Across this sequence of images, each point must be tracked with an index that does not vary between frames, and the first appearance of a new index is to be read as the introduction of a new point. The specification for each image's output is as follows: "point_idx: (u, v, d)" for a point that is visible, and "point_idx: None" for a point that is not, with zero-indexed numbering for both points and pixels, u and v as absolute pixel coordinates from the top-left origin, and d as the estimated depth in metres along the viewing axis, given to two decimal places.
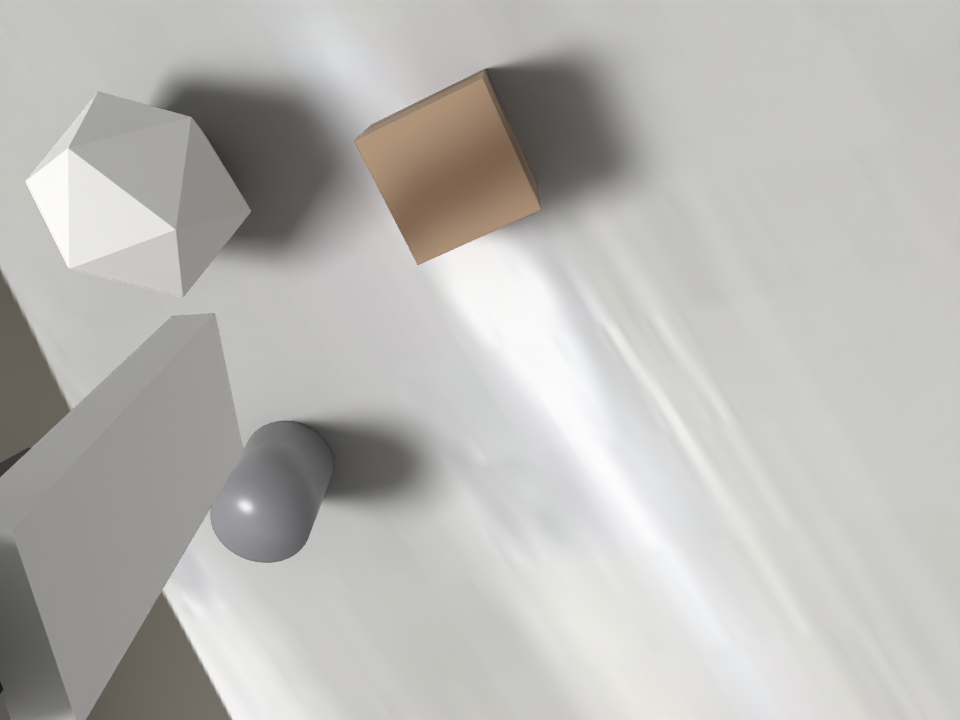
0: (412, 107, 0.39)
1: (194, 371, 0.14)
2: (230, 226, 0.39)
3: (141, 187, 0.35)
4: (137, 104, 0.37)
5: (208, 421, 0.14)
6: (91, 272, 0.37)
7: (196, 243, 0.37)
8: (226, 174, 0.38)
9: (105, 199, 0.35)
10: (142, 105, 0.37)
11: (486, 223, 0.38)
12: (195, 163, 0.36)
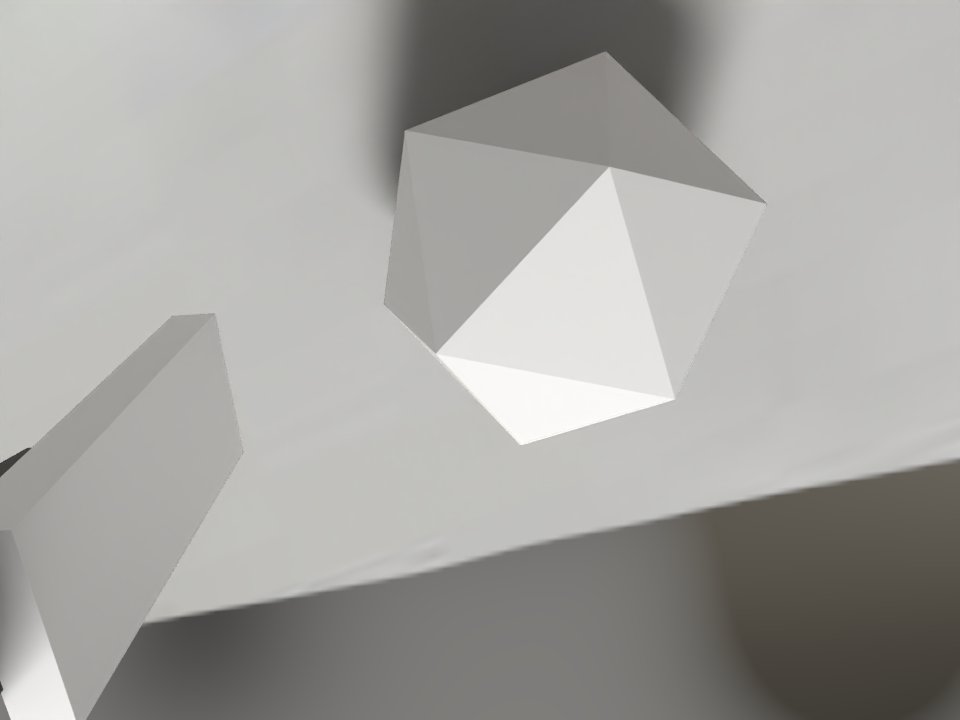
0: None
1: (195, 371, 0.14)
2: (628, 88, 0.19)
3: (518, 229, 0.17)
4: (394, 234, 0.20)
5: (208, 421, 0.14)
6: (688, 360, 0.18)
7: (651, 146, 0.18)
8: (524, 85, 0.19)
9: (537, 302, 0.17)
10: (395, 225, 0.20)
11: None
12: (489, 129, 0.18)
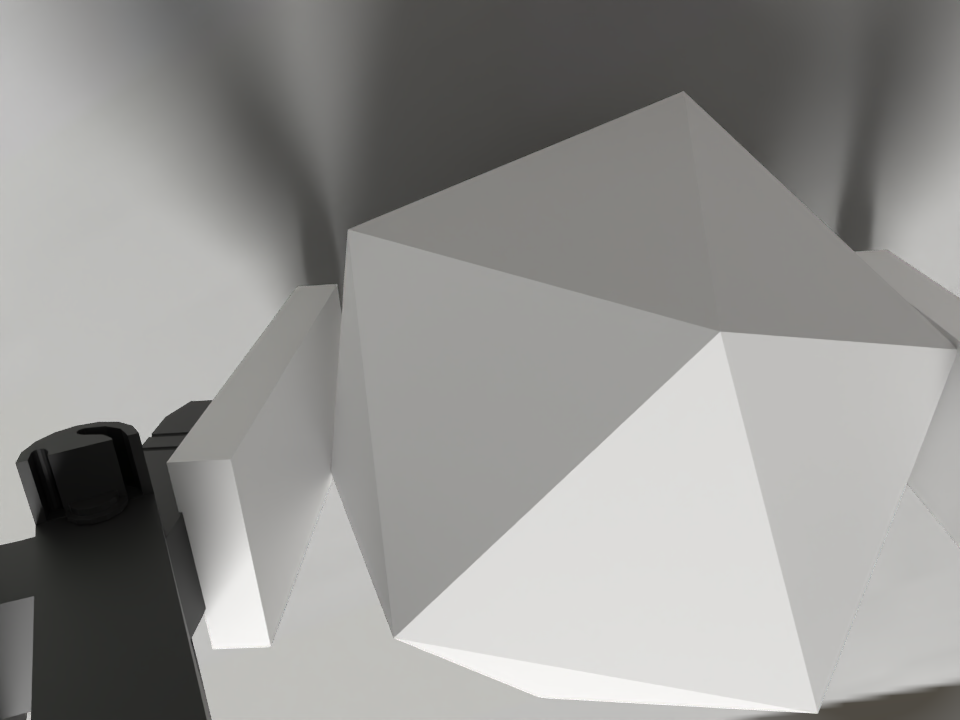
0: None
1: (327, 336, 0.15)
2: (725, 156, 0.11)
3: (541, 431, 0.09)
4: (339, 383, 0.13)
5: (335, 383, 0.15)
6: (839, 640, 0.10)
7: (778, 268, 0.10)
8: (550, 149, 0.12)
9: (578, 559, 0.09)
10: (340, 370, 0.13)
11: None
12: (490, 234, 0.10)
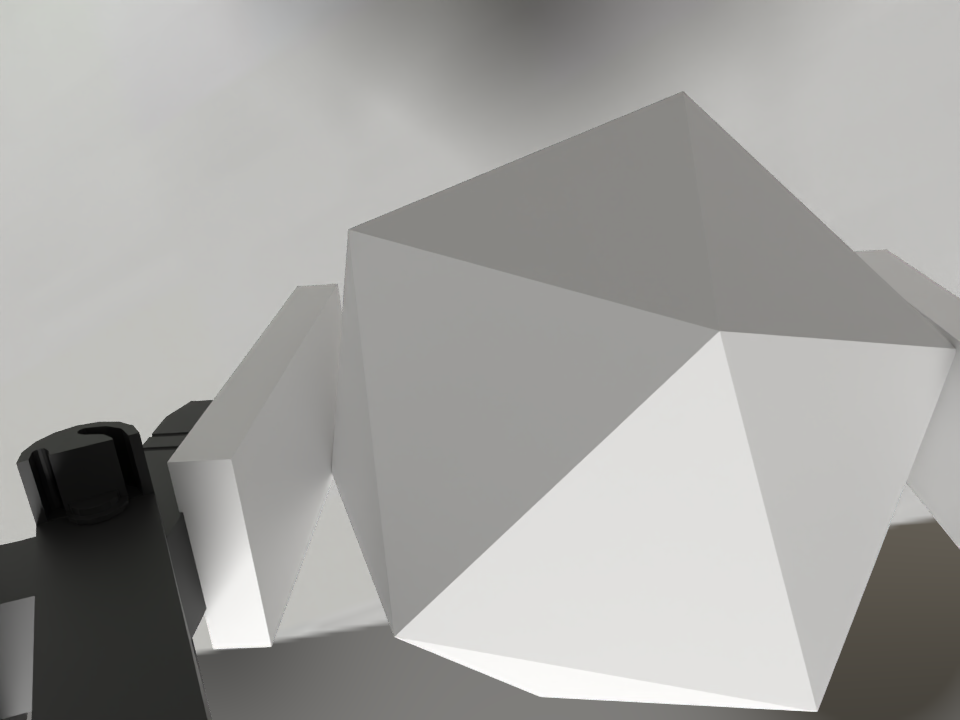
0: None
1: (327, 336, 0.15)
2: (725, 157, 0.11)
3: (542, 431, 0.09)
4: (339, 382, 0.13)
5: (336, 383, 0.15)
6: (838, 639, 0.10)
7: (777, 268, 0.10)
8: (550, 149, 0.12)
9: (576, 557, 0.09)
10: (340, 370, 0.13)
11: None
12: (491, 234, 0.10)
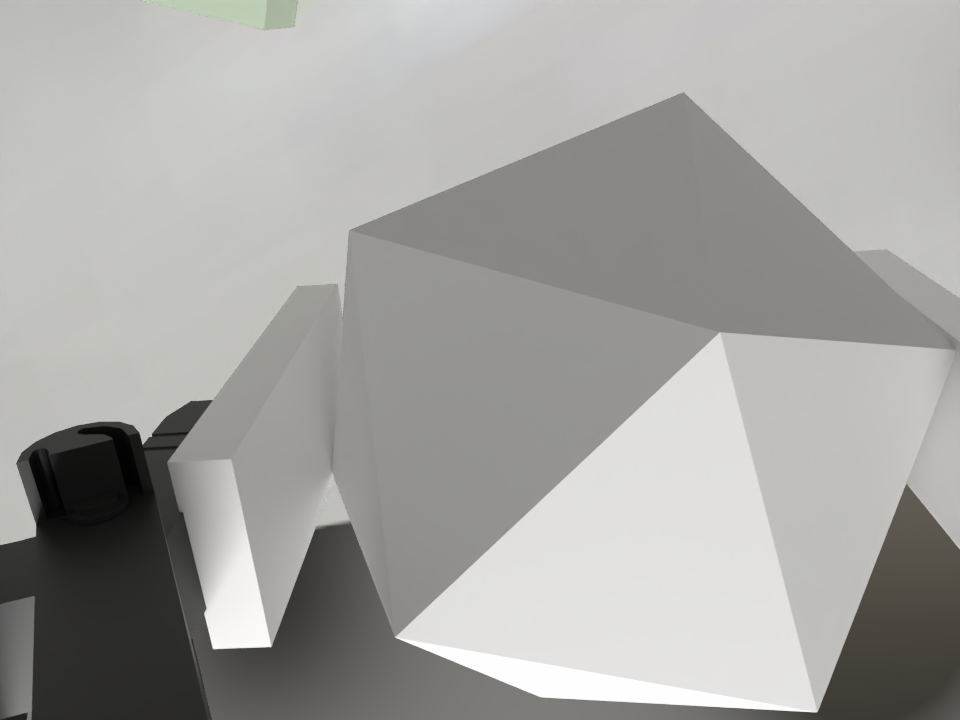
0: None
1: (328, 336, 0.15)
2: (725, 157, 0.11)
3: (542, 431, 0.09)
4: (340, 383, 0.13)
5: (336, 383, 0.15)
6: (839, 640, 0.10)
7: (777, 268, 0.10)
8: (551, 150, 0.12)
9: (577, 559, 0.09)
10: (340, 370, 0.13)
11: None
12: (491, 234, 0.10)
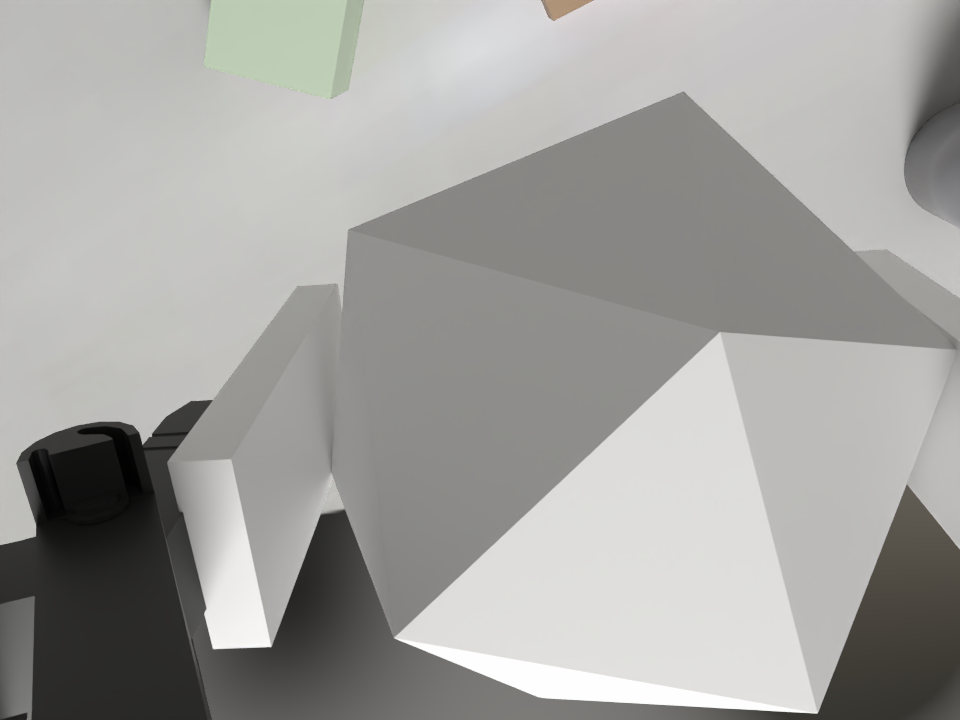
0: None
1: (327, 336, 0.15)
2: (725, 157, 0.11)
3: (541, 431, 0.09)
4: (339, 384, 0.13)
5: (335, 383, 0.15)
6: (839, 641, 0.10)
7: (777, 269, 0.10)
8: (550, 150, 0.12)
9: (576, 559, 0.09)
10: (340, 370, 0.13)
11: None
12: (490, 235, 0.10)
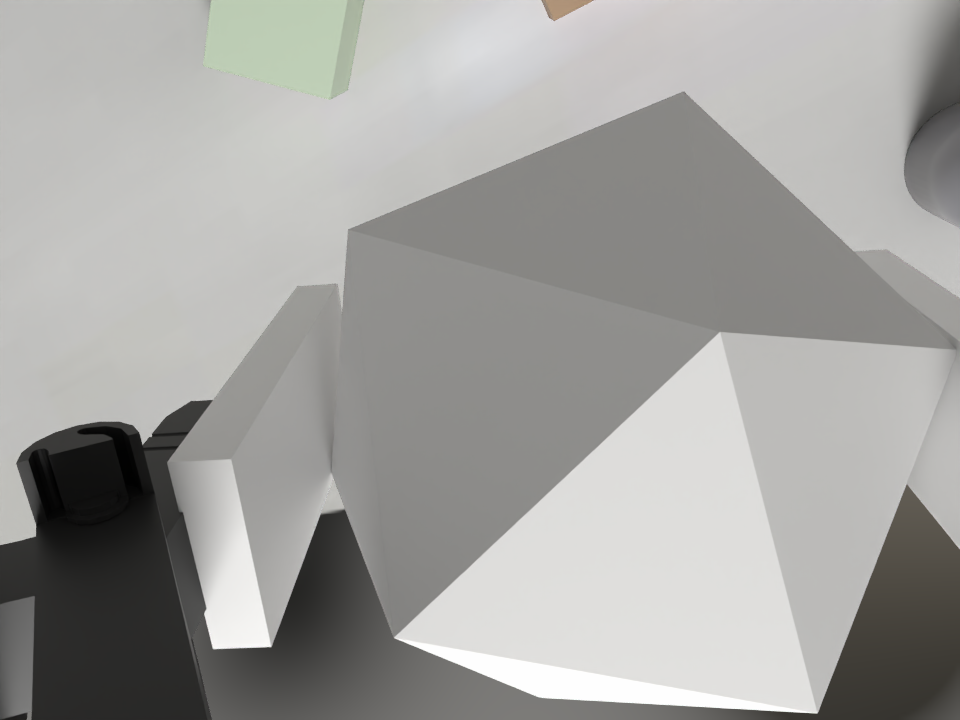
0: None
1: (327, 336, 0.15)
2: (725, 157, 0.11)
3: (541, 431, 0.09)
4: (339, 383, 0.13)
5: (335, 383, 0.15)
6: (839, 640, 0.10)
7: (777, 268, 0.10)
8: (550, 149, 0.12)
9: (576, 559, 0.09)
10: (340, 370, 0.13)
11: None
12: (491, 234, 0.10)
